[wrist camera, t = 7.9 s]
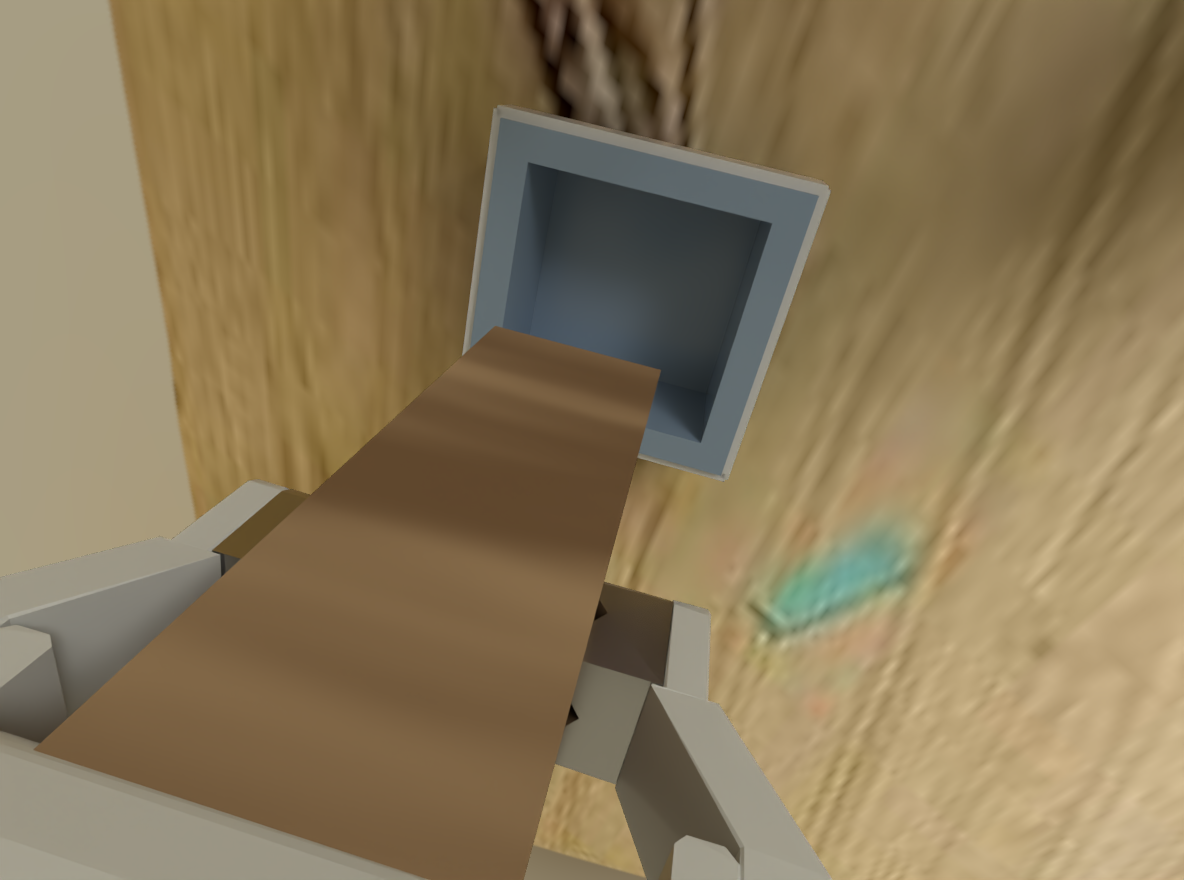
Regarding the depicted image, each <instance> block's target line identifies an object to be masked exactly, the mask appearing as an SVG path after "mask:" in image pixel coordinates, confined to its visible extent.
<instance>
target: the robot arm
mask: <svg viewBox="0 0 1184 880" xmlns="http://www.w3.org/2000/svg"><path fill="white" fill-rule="evenodd" d="M309 496H310V495H309V494H306V493H303V492H300V491H297V490H294V489H288V488H286V487H283V486H279V485H276V484H273V483H269V482H266V481H263V480H260V479H257V480H250V481H247V482H246V483H245V484H243V485H242V486H241V487H239V488H238V489H237V490H235V491H234V492H233V493H231V494H230V495H229V496H227V497H226V498H225V499H224V500H222V501H221V502H220V503H218V504H217V505H216V506H214V507H213V508H212V509H210V510H209V511H208V512H206V513H205V514H204V515H203V516H201V517H200V518H199V519H197V520H196V521H195V522H193V523H192V524H191V525H189V526H188V527H187V528H185V529H184V530H183V531H182V532H180V533H179V534H178V535H177V536H175V537H174V538H172V539H167V538H163V537H156V538H152V539H148V540H144V541H141V542H137V543H133V544H129V545H125V546H121V547H117V548H113V549H109V550H105V551H101V552H97V553H93V554H89V555H85V556H81V557H77V558H74V559H70V560H66V561H62V562H58V563H54V564H50V565H46V566H43V567H38V568H34V569H30V570H27V571H23V572H18V573H14V574H11V575H7V576H3V577H0V880H428V879H425V878H422V877H419V876H416V875H413V874H410V873H407V872H404V871H401V870H398V869H395V868H392V867H389V866H386V865H383V864H380V863H377V862H374V861H371V860H367V859H364V858H361V857H358V856H355V855H352V854H349V853H346V852H343V851H340V850H337V849H334V848H331V847H328V846H325V845H322V844H319V843H316V842H313V841H310V840H307V839H304V838H301V837H298V836H294V835H291V834H288V833H285V832H282V831H279V830H276V829H273V828H270V827H267V826H264V825H261V824H258V823H255V822H252V821H249V820H246V819H243V818H240V817H237V816H234V815H231V814H228V813H225V812H222V811H218V810H215V809H212V808H209V807H206V806H203V805H200V804H197V803H194V802H191V801H188V800H185V799H182V798H179V797H176V796H172V795H169V794H166V793H163V792H160V791H157V790H154V789H151V788H148V787H145V786H142V785H139V784H136V783H133V782H130V781H126V780H123V779H120V778H117V777H114V776H111V775H108V774H105V773H102V772H99V771H96V770H93V769H90V768H87V767H83V766H80V765H77V764H74V763H71V762H68V761H65V760H62V759H59V758H56V757H53V756H50V755H47V754H44V753H41V752H37V751H34V750H33V749H35V748H36V747H37V746H38V745H39V744H40V743H41V742H42V741H43V740H44V739H45V738H47V737H48V736H49V735H50V734H51V733H52V732H53V731H54V730H55V729H56V728H57V727H58V726H60V725H61V724H62V723H63V722H64V721H65V720H66V719H67V718H68V717H69V716H70V715H72V714H73V713H74V712H75V711H76V710H77V709H78V708H79V707H80V706H81V705H82V704H84V703H85V702H86V701H87V700H88V699H89V698H90V697H91V696H92V695H93V694H94V693H96V692H97V691H98V690H99V689H100V688H101V687H102V686H103V685H104V684H105V683H106V682H108V681H109V680H110V679H111V678H112V677H113V676H114V675H115V674H116V673H117V672H118V671H120V670H121V669H122V668H123V667H124V666H125V665H126V664H127V663H128V662H129V661H130V660H131V659H133V658H134V657H135V656H136V655H137V654H138V653H139V652H140V651H141V650H142V649H143V648H145V647H146V646H147V645H148V644H149V643H150V642H151V641H152V640H153V639H154V638H155V637H157V636H158V635H159V634H160V633H161V632H162V631H163V630H164V629H165V628H166V627H167V626H169V625H170V624H171V623H172V622H173V621H174V620H175V619H176V618H177V617H178V616H179V615H181V614H182V613H183V612H184V611H185V610H186V609H187V608H188V607H189V606H190V605H191V604H192V603H194V602H195V601H196V600H197V599H198V598H199V597H200V596H201V595H202V594H203V593H204V592H206V591H207V590H208V589H209V588H210V587H211V586H212V585H213V584H214V583H215V582H216V581H218V580H219V579H220V578H221V577H222V576H223V575H224V574H225V573H226V572H227V571H228V570H230V569H231V568H232V567H233V566H234V565H235V564H236V563H237V562H238V561H239V560H240V559H242V558H243V557H244V556H245V555H246V554H247V553H248V552H249V551H250V550H251V549H252V548H254V547H255V546H256V545H257V544H258V543H259V542H260V541H261V540H262V539H263V538H264V537H265V536H267V535H268V534H269V533H270V532H271V531H272V530H273V529H274V528H275V527H276V526H277V525H279V524H280V523H281V522H282V521H283V520H284V519H285V518H286V517H287V516H288V515H289V514H291V513H292V512H293V511H294V510H295V509H296V508H297V507H298V506H299V505H300V504H301V503H303V502H304V501H305V500H306V499H307V498H308V497H309ZM710 628H711V614H710V612H709V610H708V609H705V608H701V607H697V606H693V605H689V604H686V603H682V602H678V601H674V600H673V602H672V601H670V600H667V599H663V598H659V597H656V596H652V595H649V594H645V593H642V592H638V591H635V590H631V589H628V588H624V587H621V586H617V585H614V584H610V583H607V582H604V583H603V587H602V591H601V594H600V598H599V602H598V606H597V609H596V613H595V617H594V620H593V624H592V628H591V632H590V635H589V639H588V643H587V646H586V650H585V654H584V657H583V661H582V665H581V669H580V672H579V676H578V680H577V683H576V687H575V691H574V695H573V698H572V702H571V706H570V709H569V713H568V717H567V720H566V724H565V728H564V732H563V735H562V739H561V743H560V746H559V750H558V754H557V758H556V761H555V764H557V765H560V766H563V767H566V768H569V769H572V770H575V771H578V772H581V773H584V774H587V775H590V776H592V777H595V778H598V779H601V780H604V781H607V782H610V783H613V784H616V787H615V789H616V792H617V795H618V797H619V800H620V803H621V806H622V809H623V812H624V815H625V818H626V820H627V823H628V826H629V829H630V832H631V835H632V838H633V841H634V844H635V846H636V849H637V852H638V855H639V858H640V861H641V864H642V867H643V869H644V872H645V875H646V878H647V880H832V879H831V876H830V875H829V873H828V872H827V870H826V869H825V867H824V866H823V864H822V863H821V861H820V859H819V858H818V856H817V855H816V853H815V852H814V850H813V849H812V847H811V846H810V844H809V842H808V841H807V839H806V838H805V836H804V835H803V833H802V832H801V830H800V829H799V827H798V825H797V824H796V822H795V821H794V819H793V818H792V816H791V815H790V813H789V811H788V810H787V808H786V807H785V805H784V804H783V802H782V801H781V799H780V798H779V796H778V794H777V793H776V791H775V790H774V788H773V787H772V785H771V784H770V782H769V781H768V779H767V777H766V776H765V774H764V773H763V771H762V770H761V768H760V767H759V765H758V764H757V762H756V760H755V759H754V757H753V756H752V754H751V753H750V751H749V750H748V748H747V747H746V745H745V743H744V742H743V740H742V739H741V737H740V736H739V734H738V733H737V731H736V730H735V728H734V726H733V725H732V723H731V722H730V720H729V719H728V717H727V716H726V714H725V713H724V711H723V709H722V708H721V706H720V705H719V704H717V703H714V702H711V701H708V683H709V656H710Z"/></svg>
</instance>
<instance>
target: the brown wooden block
mask: <svg viewBox="0 0 1184 880" xmlns="http://www.w3.org/2000/svg"><path fill="white" fill-rule="evenodd" d="M660 372H661V370H659V369H655V368H651V367H648V366H644V365H640V364H636V363H633V362H629V361H625V360H622V359H618V358H614V357H610V356H607V355H603V354H599V353H595V352H592V351H588V350H584V349H580V348H577V347H573V346H569V345H565V344H562V343H558V342H554V341H550V340H547V339H543V338H539V337H535V336H532V335H528V334H524V333H520V332H517V331H513V330H509V329H505V328H502V327H498V326H494V327H493V328H492V329H491V330H490V331H489V332H488V333H487V334H486V335H484V336H483V337H482V338H481V339H480V340H479V341H478V342H477V343H476V344H475V345H474V346H472V347H471V348H470V349H469V350H468V351H467V352H466V353H465V354H464V355H463V356H462V357H460V358H459V359H458V360H457V361H456V362H455V363H454V364H453V365H452V366H451V367H450V368H449V369H447V370H446V371H445V372H444V373H443V374H442V375H441V376H440V377H439V378H438V379H437V380H435V381H434V382H433V383H432V384H431V385H430V386H429V387H428V388H427V389H426V390H425V391H423V392H422V393H421V394H420V395H419V396H418V397H417V398H416V399H415V400H414V401H413V402H411V403H410V404H409V405H408V406H407V407H406V408H405V409H404V410H403V411H402V412H401V413H399V414H398V415H397V416H396V417H395V418H394V419H393V420H392V421H391V422H390V423H389V424H388V425H386V426H385V427H384V428H383V429H382V430H381V431H380V432H379V433H378V434H377V435H376V436H374V437H373V438H372V439H371V440H370V441H369V442H368V443H367V444H366V445H365V446H364V447H362V448H361V449H360V450H359V451H358V452H357V453H356V454H355V455H354V456H353V457H352V458H350V459H349V460H348V461H347V462H346V463H345V464H344V465H343V466H342V467H341V468H340V469H338V470H337V471H336V472H335V473H334V474H333V475H332V476H331V477H330V478H329V479H328V480H326V481H325V482H324V483H323V484H322V485H321V486H320V487H319V488H318V489H317V490H316V491H315V492H313V493H312V494H311V495H310V496H309V497H308V498H307V499H306V500H305V501H304V502H303V503H301V504H300V505H299V506H298V507H297V508H296V509H295V510H294V511H293V512H292V513H291V514H289V515H288V516H287V517H286V518H285V519H284V520H283V521H282V522H281V523H280V524H279V525H277V526H276V527H275V528H274V529H273V530H272V531H271V532H270V533H269V534H268V535H267V536H265V537H264V538H263V539H262V540H261V541H260V542H259V543H258V544H257V545H256V546H255V547H254V548H252V549H251V550H250V551H249V552H248V553H247V554H246V555H245V556H244V557H243V558H242V559H240V560H239V561H238V562H237V563H236V564H235V565H234V566H233V567H232V568H231V569H230V570H228V571H227V572H226V573H225V574H224V575H223V576H222V577H221V578H220V579H219V580H218V581H216V582H215V583H214V584H213V585H212V586H211V587H210V588H209V589H208V590H207V591H206V592H204V593H203V594H202V595H201V596H200V597H199V598H198V599H197V600H196V601H195V602H194V603H192V604H191V605H190V606H189V607H188V608H187V609H186V610H185V611H184V612H183V613H182V614H181V615H179V616H178V617H177V618H176V619H175V620H174V621H173V622H172V623H171V624H170V625H169V626H167V627H166V628H165V629H164V630H163V631H162V632H161V633H160V634H159V635H158V636H157V637H155V638H154V639H153V640H152V641H151V642H150V643H149V644H148V645H147V646H146V647H145V648H143V649H142V650H141V651H140V652H139V653H138V654H137V655H136V656H135V657H134V658H133V659H131V660H130V661H129V662H128V663H127V664H126V665H125V666H124V667H123V668H122V669H121V670H120V671H118V672H117V673H116V674H115V675H114V676H113V677H112V678H111V679H110V680H109V681H108V682H106V683H105V684H104V685H103V686H102V687H101V688H100V689H99V690H98V691H97V692H96V693H94V694H93V695H92V696H91V697H90V698H89V699H88V700H87V701H86V702H85V703H84V704H82V705H81V706H80V707H79V708H78V709H77V710H76V711H75V712H74V713H73V714H72V715H70V716H69V717H68V718H67V719H66V720H65V721H64V722H63V723H62V724H61V725H60V726H58V727H57V728H56V729H55V730H54V731H53V732H52V733H51V734H50V735H49V736H48V737H47V738H45V739H44V740H43V741H42V742H41V743H40V744H39V745H38V746H37V747H36V748H35V749H33V750H34V751H37V752H41V753H44V754H47V755H50V756H53V757H56V758H59V759H62V760H65V761H68V762H71V763H74V764H77V765H80V766H83V767H87V768H90V769H93V770H96V771H99V772H102V773H105V774H108V775H111V776H114V777H117V778H120V779H123V780H126V781H130V782H133V783H136V784H139V785H142V786H145V787H148V788H151V789H154V790H157V791H160V792H163V793H166V794H169V795H172V796H176V797H179V798H182V799H185V800H188V801H191V802H194V803H197V804H200V805H203V806H206V807H209V808H212V809H215V810H218V811H222V812H225V813H228V814H231V815H234V816H237V817H240V818H243V819H246V820H249V821H252V822H255V823H258V824H261V825H264V826H267V827H270V828H273V829H276V830H279V831H282V832H285V833H288V834H291V835H294V836H298V837H301V838H304V839H307V840H310V841H313V842H316V843H319V844H322V845H325V846H328V847H331V848H334V849H337V850H340V851H343V852H346V853H349V854H352V855H355V856H358V857H361V858H364V859H367V860H371V861H374V862H377V863H380V864H383V865H386V866H389V867H392V868H395V869H398V870H401V871H404V872H407V873H410V874H413V875H416V876H419V877H422V878H425V879H428V880H523V879H524V876H525V872H526V869H527V865H528V861H529V858H530V854H531V850H532V847H533V843H534V839H535V835H536V832H537V828H538V824H539V821H540V817H541V813H542V809H543V806H544V802H545V798H546V795H547V791H548V787H549V784H550V780H551V776H552V772H553V769H554V765H555V761H556V758H557V754H558V750H559V746H560V743H561V739H562V735H563V732H564V728H565V724H566V720H567V717H568V713H569V709H570V706H571V702H572V698H573V695H574V691H575V687H576V683H577V680H578V676H579V672H580V669H581V665H582V661H583V657H584V654H585V650H586V646H587V643H588V639H589V635H590V632H591V628H592V624H593V620H594V617H595V613H596V609H597V606H598V602H599V598H600V594H601V591H602V587H603V583H604V580H605V576H606V572H607V569H608V565H609V561H610V557H611V554H612V550H613V546H614V543H615V539H616V535H617V531H618V528H619V524H620V520H621V517H622V513H623V509H624V506H625V502H626V498H627V494H628V491H629V487H630V483H631V480H632V476H633V472H634V468H635V465H636V461H637V457H638V454H639V450H640V446H641V443H642V439H643V435H644V431H645V428H646V424H647V420H648V417H649V413H650V409H651V405H652V402H653V398H654V394H655V391H656V387H657V383H658V380H659V376H660Z"/></svg>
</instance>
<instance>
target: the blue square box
mask: <svg viewBox="0 0 1184 880" xmlns="http://www.w3.org/2000/svg"><path fill="white" fill-rule="evenodd" d="M830 193H831V190H830V189H829V186H828V185H827V184H826V183H825V182H824V181H823V180H819V179H815V178H811V177H807V176H803V175H799V174H794V173H790V172H786V171H782V170H778V169H774V168H770V167H766V166H762V165H758V164H754V163H749V162H745V161H741V160H737V159H733V158H729V157H725V156H721V155H717V154H713V153H708V152H704V151H700V150H696V149H692V148H688V147H684V146H680V145H676V144H672V143H668V142H663V141H659V140H655V139H651V138H647V137H643V136H639V135H635V134H631V133H627V132H623V131H618V130H614V129H610V128H606V127H602V126H598V125H594V124H590V123H586V122H582V121H578V120H573V119H569V118H565V117H561V116H557V115H553V114H549V113H545V112H541V111H537V110H533V109H528V108H524V107H520V106H516V105H497V108H494V110H493V118H492V126H491V133H490V141H489V149H488V157H487V165H486V173H485V181H484V188H483V196H482V204H481V212H480V220H479V228H478V236H477V243H476V251H475V259H474V267H473V275H472V283H471V291H470V298H469V306H468V314H467V322H466V330H465V338H464V346H463V353H462V356H463V355H464V354H465V353H466V352H467V351H468V350H469V349H470V348H471V347H472V346H474V345H475V344H476V343H477V342H478V341H479V340H480V339H481V338H482V337H483V336H484V335H486V334H487V333H488V332H489V331H490V330H491V329H492V328H493V327H494V326H498V327H502V328H505V329H509V330H513V331H517V332H520V333H524V334H528V335H532V336H535V337H539V338H543V339H547V340H550V341H554V342H558V343H562V344H565V345H569V346H573V347H577V348H580V349H584V350H588V351H592V352H595V353H599V354H603V355H607V356H610V357H614V358H618V359H622V360H625V361H629V362H633V363H636V364H640V365H644V366H648V367H651V368H655V369H659V370H661V372H660V376H659V380H658V383H657V387H656V391H655V394H654V398H653V402H652V405H651V409H650V413H649V417H648V420H647V424H646V428H645V431H644V435H643V439H642V443H641V446H640V450H639V454H638V457H637V458H640V459H644V460H647V461H651V462H655V463H658V464H662V465H665V466H669V467H673V468H676V469H680V470H683V471H687V472H691V473H694V474H698V475H701V476H705V477H709V478H712V479H716V480H719V481H723V482H724V481H725V480H728V478H729V475H730V472H731V470H732V467H733V464H734V461H735V458H736V456H737V453H738V450H739V447H740V444H741V442H742V439H743V436H744V433H745V430H746V428H747V425H748V422H749V419H750V416H751V414H752V411H753V408H754V405H755V402H756V400H757V397H758V394H759V391H760V389H761V386H762V383H763V380H764V377H765V375H766V372H767V369H768V366H769V363H770V361H771V358H772V355H773V352H774V349H775V347H776V344H777V341H778V338H779V335H780V333H781V330H782V327H783V324H784V321H785V319H786V316H787V313H788V310H789V307H790V305H791V302H792V299H793V296H794V293H795V291H796V288H797V285H798V282H799V279H800V277H801V274H802V271H803V268H804V265H805V263H806V260H807V257H808V254H809V251H810V249H811V246H812V243H813V240H814V237H815V235H816V232H817V229H818V226H819V223H820V221H821V218H822V215H823V212H824V209H825V207H826V204H827V201H828V198H829V196H830Z"/></svg>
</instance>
